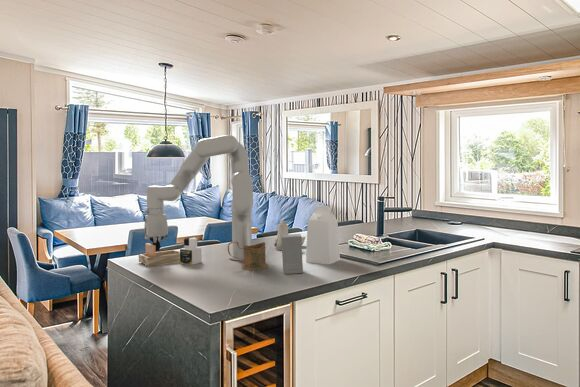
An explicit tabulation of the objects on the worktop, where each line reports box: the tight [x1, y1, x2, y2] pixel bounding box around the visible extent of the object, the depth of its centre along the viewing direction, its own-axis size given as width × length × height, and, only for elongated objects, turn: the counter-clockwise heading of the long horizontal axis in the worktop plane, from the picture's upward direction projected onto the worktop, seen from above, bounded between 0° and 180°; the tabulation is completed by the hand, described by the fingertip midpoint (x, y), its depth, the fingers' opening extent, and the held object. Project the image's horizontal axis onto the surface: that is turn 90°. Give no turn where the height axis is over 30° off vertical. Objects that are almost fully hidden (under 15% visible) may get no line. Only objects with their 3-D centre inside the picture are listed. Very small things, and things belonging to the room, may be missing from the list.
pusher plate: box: [144, 242, 157, 257], centre depth 209 cm, size 9×1×8 cm, turn 39°
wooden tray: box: [138, 249, 180, 267], centre depth 213 cm, size 12×18×4 cm, turn 129°
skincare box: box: [281, 233, 304, 275], centre depth 185 cm, size 8×7×16 cm
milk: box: [305, 204, 341, 265], centre depth 208 cm, size 12×12×26 cm
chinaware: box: [273, 219, 307, 251], centre depth 243 cm, size 28×17×17 cm, turn 171°
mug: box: [227, 241, 269, 271], centre depth 197 cm, size 12×18×12 cm, turn 111°
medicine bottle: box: [179, 236, 203, 266], centre depth 209 cm, size 7×7×12 cm
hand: (156, 250), depth 211 cm, fingers closed
